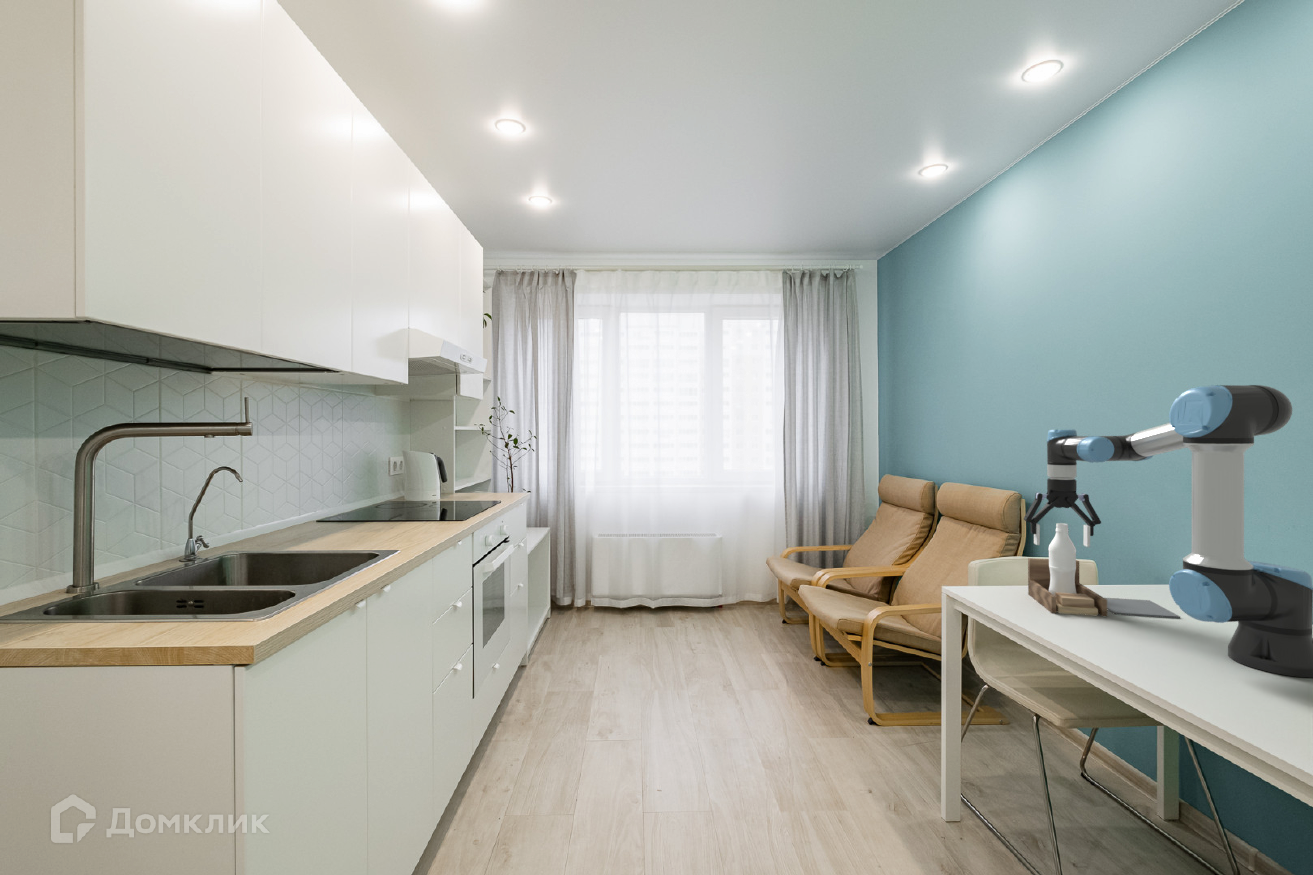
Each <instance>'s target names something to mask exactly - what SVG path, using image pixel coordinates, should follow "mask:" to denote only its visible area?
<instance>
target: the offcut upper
mask: <svg viewBox="0 0 1313 875" xmlns="http://www.w3.org/2000/svg"><path fill="white" fill-rule="evenodd" d="M1055 596H1056V601H1057V602H1058V603H1059V604H1060V605H1062V606H1069V607H1082V608H1094V600H1093V599H1092V598H1090V597H1089V596H1088V595H1086V594H1074V593H1060V592H1055Z"/></svg>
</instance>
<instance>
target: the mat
mask: <svg viewBox="0 0 1313 875" xmlns="http://www.w3.org/2000/svg"><path fill="white" fill-rule="evenodd" d="M1104 598H1105V599H1107V609H1108V610H1109V612H1110V613H1111V612H1112V613H1111V614H1113V613H1114V614H1113V615H1117V614H1121V616H1131V617H1132V616H1134V617H1135V616H1136V617H1149V618H1150V617H1151V618H1163V619H1165V618H1166V619H1167V618H1168V619H1177V620H1179V619H1181V616H1180V615H1178V614H1176V613H1175V612H1172V611H1170V610H1169V609H1167V608H1166V607H1163V606H1161V605H1159V604H1158V603H1155V602H1154V601H1152V600H1150V599H1134V598H1133V599H1132V598H1118V597H1117V598H1115V597H1104ZM1108 610H1107V611H1108Z"/></svg>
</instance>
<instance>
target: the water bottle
mask: <svg viewBox="0 0 1313 875" xmlns="http://www.w3.org/2000/svg"><path fill="white" fill-rule="evenodd" d="M1055 524H1056V525H1055V527H1056V528H1055V530H1054V531H1055V535H1054V537H1053V539H1051V542H1050V543H1049V545H1048V559H1049V569H1050V586H1049V592H1050V593H1052V594H1053V595H1054V596H1055V592H1060V593H1074V594H1077V593H1076V588H1075V571H1076V560H1077V556H1076V555H1077V548H1076V546H1075V545H1074V543H1073V541H1072V540H1071V538H1070V536H1069V532H1070V530H1069V524H1068V523H1063V522H1057V523H1055Z"/></svg>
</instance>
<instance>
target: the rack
mask: <svg viewBox="0 0 1313 875" xmlns="http://www.w3.org/2000/svg"><path fill="white" fill-rule="evenodd" d="M1027 569H1028V570H1027V580H1028V581H1027V582H1028V584H1027V586H1028V587H1027V588H1028V592H1027V594H1028V595H1029V596H1030V597H1031V598H1033V600H1035V601H1036V602H1038V604H1040V605H1041V606H1042V607H1043V608H1045V609H1046V610H1047V611H1048V612H1049V613H1051V614H1057V612H1056V596H1054V595H1053V594H1052V593H1050V592H1049V586H1050V569H1049V558H1033V557H1032V558H1030V557H1028V559H1027ZM1075 588H1076V593H1077V594H1086V595H1088V596H1089V597H1090V598H1092V599H1093V600H1094V607H1096V608H1097V609H1098V615H1099V614H1100V615H1099V616H1100V617H1103V616H1107V617H1108V610H1107V599H1105V598H1106V597H1104V596H1102V595H1100V594H1098V593H1097V592H1095V591H1093V590H1092V589H1091V588H1088V587H1087V586H1085V585H1084V584H1082V583H1080V560H1077V559H1076V571H1075Z"/></svg>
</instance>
